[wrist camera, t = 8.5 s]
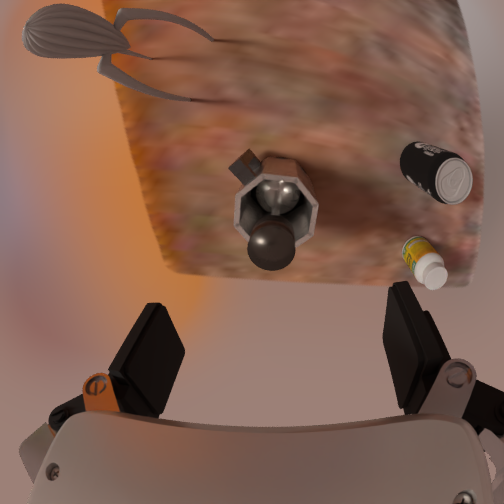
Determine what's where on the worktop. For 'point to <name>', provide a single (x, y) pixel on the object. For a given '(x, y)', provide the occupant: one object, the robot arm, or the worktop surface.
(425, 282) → the supplement bottle
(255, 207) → the press carafe
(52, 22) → the juicer
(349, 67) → the worktop surface
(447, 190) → the beverage can
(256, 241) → the grey knobbed rod
